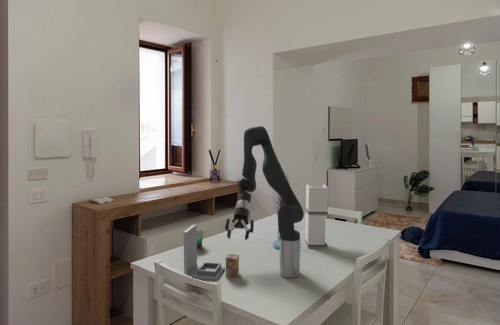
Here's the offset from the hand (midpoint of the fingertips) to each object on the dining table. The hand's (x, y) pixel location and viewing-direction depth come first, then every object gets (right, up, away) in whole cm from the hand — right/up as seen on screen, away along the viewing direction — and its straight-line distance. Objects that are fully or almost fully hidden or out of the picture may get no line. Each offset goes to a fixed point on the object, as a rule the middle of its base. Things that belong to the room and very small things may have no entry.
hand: (237, 238), depth 173 cm
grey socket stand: (-15, -15, -7) cm, 22 cm away
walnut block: (-2, -15, -9) cm, 18 cm away
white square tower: (+45, -11, +34) cm, 57 cm away
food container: (-26, -12, +28) cm, 39 cm away
